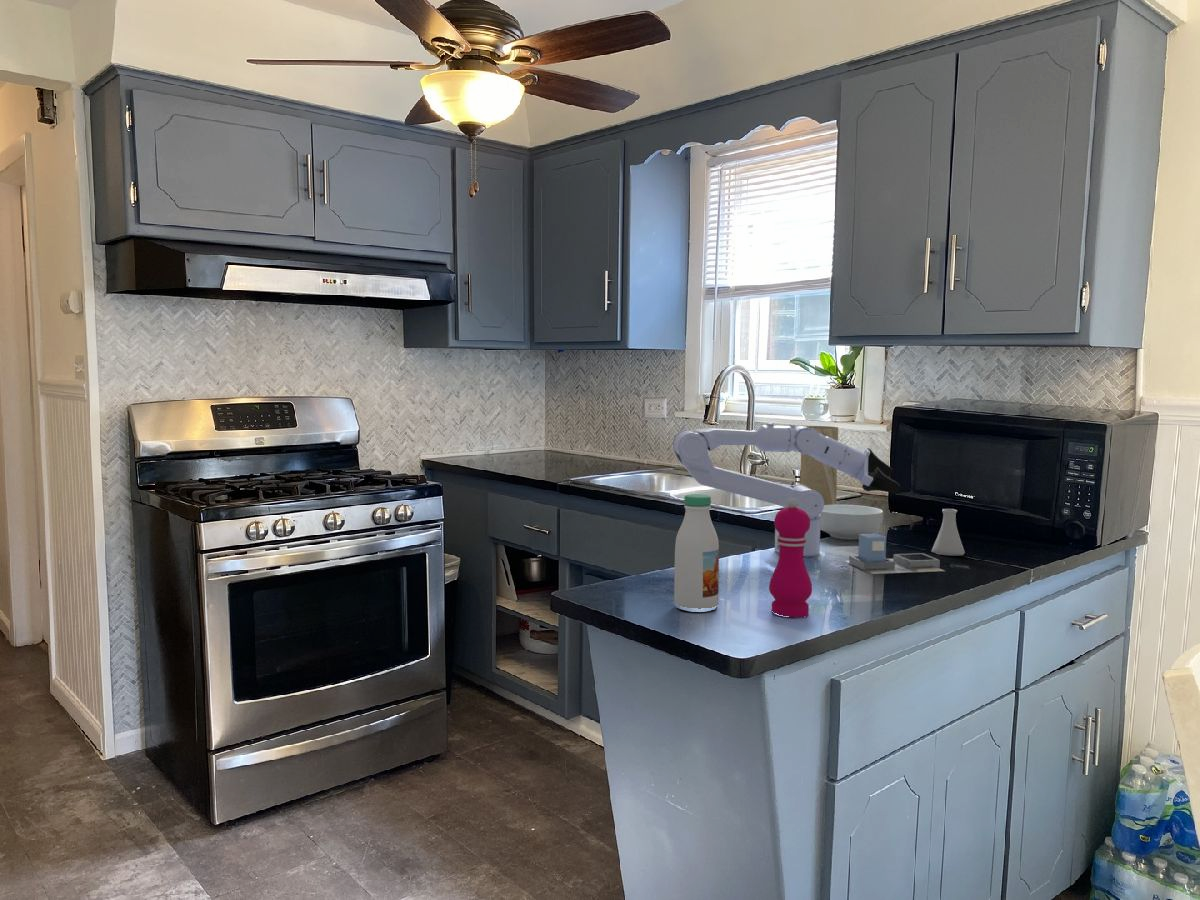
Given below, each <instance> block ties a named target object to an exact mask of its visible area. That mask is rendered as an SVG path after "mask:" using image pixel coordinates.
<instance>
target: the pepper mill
mask: <svg viewBox="0 0 1200 900" xmlns="http://www.w3.org/2000/svg"><path fill="white" fill-rule="evenodd" d="M787 505H788V507H787V508H785V507H783V508H781V509H780V510H779V511H777V513H776V515H775V517H774V520H773V522H774V523H773V524H774V525H773V526H774V529H775V528H776V530H777V531H778V533H779V535H777V538H778V539H777V544H779V551H780V552H779V555H778V560H777V564H776V566H775V569H774V570H773V573H772V575H771V576H770V581H769V587H768V589H769V594H770V595H771V596H772V598H774V600H772V602H771V612H772V611H773V612H774V613H777V614H779V615H783V616H789V617H802V618H805V617H804V616H806V617H808V615H809V612H810V611H809V609H810V608H809V607H810V606H809V605H810V604H809V603H808V602H807V601H808V599H809V598H810V597H811V596H812V593H813V586H812V585H813V584H812V581H811V577H810V574H809V572H808V569H807V566H806V563H805V560H804V559H805V558H804V557H805V556H804V555H803V551H804V546H805V545H806V544H807V542H806V539H807V537H806V536H805V533H806V532H807V531H808V530H809V528H810V518H809V516H808V514H807V513H806V512H805V511H804V510H802V509H800V508H796V507H797V506H798V502H797V500H796V499H794V498H791V499H789V500H788V502H787Z"/></svg>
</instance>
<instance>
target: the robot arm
mask: <svg viewBox="0 0 1200 900" xmlns="http://www.w3.org/2000/svg"><path fill="white" fill-rule="evenodd" d="M804 426H805V425H803V426H802V425H799V424H797V425H796V424H794V423H790V424H789V426H788V425H775V424H774V423H773V422H766V425H764V424H762V425H760V426H759V427H758V428H757V429H755V430H746V429H731V428H729V429H728V428H715V427H711V428H709V427H708V428H696V429H695V428H694V430H691V429H683V430H680V431H678V432H677V433H676V434H675V435H674V437H673V439H672V448H673V452H674V453H675V456H676V459H677V461H679V462H680V464H681V465H682V466H683V467H684V468H685V469H686V470H687V472H688V473H689V474H690V475H691V477H693V479H694V480H695V481H696V482H697V483H698V484H699V485H701V486H704V487H705V486H706V487H708V488H713V489H716V490H720V491H725V492H727V493H728V492H729V493H732V494H734V495H735V494H736V495H738V496H739V495H740V496H741V497H742V496H744V497H747V498H750V499H754V500H758V501H763V502H767V503H770V504H773V505H777V506H779V507H783V508H787V507H788V505H787V502H788V500H789V499H791V498H794V499H796V500H797V502H798V506H797V507H796V508H800V509H802V510H804V511H805V512H806V513H807V514H808V516H809V518H810V528H809V530H808V531H807V532H806V533H805V536H806V537H807V539H806V542H807V544H806V545H805V546H804V551H803V555H804V557H809V556H810V557H812V556H818V555H820V551H821V549H820V548H821V546H820V545H821V529H820V517H821V515H819V514H820V513H821V512H822V510H823V508H824V500H823V497H822V496H821V494H820V493H819V492H817V491H815V490H811V489H809V488H808V487H807V486H805V485H802V484H800V483H799V484H793V485H790V484H785V483H778V482H774V481H770V480H768V479H767V480H766V479H763V478H759V477H757V476H751V475H748V474H744V473H740V472H737V471H732V470H730V469H726V468H721V467H717V466H714V464H713V462H712V460H711V458H710V455H709V452H713V451H714V450H716V449H717V448H718V447H720V446H755V447H756V448H757V450H759V451H760V452H770V453H771V452H773V453H791V452H792V451H793V452H796V453H797V452H798V453H800V455H801V454H804V455H810V456H812V457H814V458H815V459H816V460H817V461H820V462H822V463H824V464H826V465H828V466H831V467H833V468H835V469H837V471H839V472H842V473H844V474H846V475H848V476H850V477H851V478H853V479H855V480H857V481H859V482H860V484H862V489H863V491H865V492H871V491H873V492H874V491H877V492H886V493H891V494H897V492H898V491H899V489H900V488H901V484H899V482H897V481H896V480H894V479H892V477H891V475H892V473H893V472H894V469H893V468H892V467H891V466H890V465H888V464H887V463H885V461H883V460H881V458H879V457H878V456H877V455H876V454H875V453H874V451H873V450H872V449H871V448H869V447H867V448H866V449H865V450H864V451H863V450H862V449H859V448H857V447H851V446H849V445H846V444H845V443H843V442H841V441H839V440H838V441H836V440H834V439H832V438H830V437H825V436H824V435H822V434H819V433H818V432H817V431H816V430H815V429H813V428H812V429H811V428H808V427H804ZM777 535H779V533H778V531H777V530H776V528H775V527H774V552H777V553H779V552H780V551H779V544H777V539H778V538H777Z"/></svg>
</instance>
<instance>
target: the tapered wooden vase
mask: <svg viewBox="0 0 1200 900" xmlns="http://www.w3.org/2000/svg"><path fill="white" fill-rule="evenodd" d="M803 426H804V427H808V428H811V429H812V428H813V429H815V430H816V431H817V432H818V433H819V434H822V435H824V436H825V437H830V438H832V439H834V440H836V441H838V442H839V427H838V426H827V425H826V426H825V425H824V426H823V425H803ZM799 476H800V479H799V484H802V485H805V486H807V487H808V488H809V489H811V490H815V491H817V492H819V493H820V494H821V496H822V497H823V500H824V505H837V493H838V492H837V488H838V486H837V485H838V470H837V469H835V468H833V467H831V466H828V465H826V464H824V463H822V462H820V461H817V460H816V459H815V458H814V457H812V456H810V455H804V454H801V453H800V474H799Z"/></svg>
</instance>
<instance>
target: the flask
mask: <svg viewBox="0 0 1200 900" xmlns="http://www.w3.org/2000/svg"><path fill="white" fill-rule="evenodd" d="M941 512H942V514H943V515H942V516H943V517H942V523H941V526H940V529H939V531H938V534H937V537H936V539H935V541H934V543H933V546H932V548H931V552H932V553H934V554H937V555H940V556H941V555H942V556H949V557H950V556H951V557H952V556H953V557H956V556H964V554H965V553H966V551H965V549H964V546H963V542H962V540H961V538H960V534H959V531H958V527H957V521H956V520H957V518H956V515H957V513H958V510H957V509H954V508H942V510H941Z"/></svg>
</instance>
